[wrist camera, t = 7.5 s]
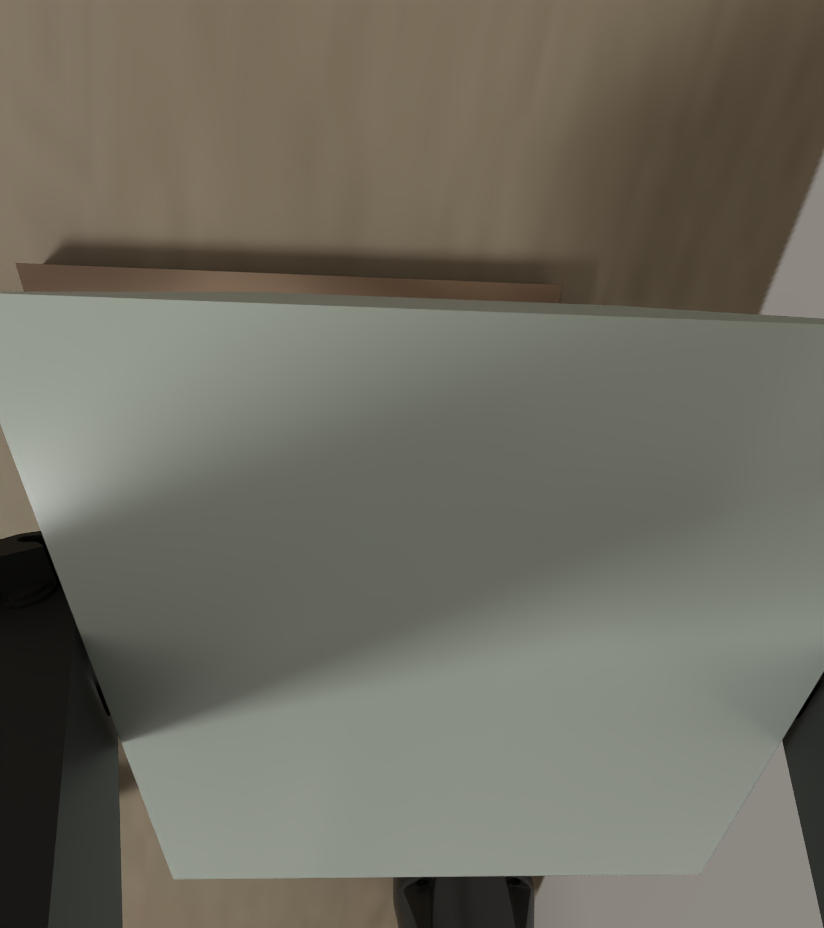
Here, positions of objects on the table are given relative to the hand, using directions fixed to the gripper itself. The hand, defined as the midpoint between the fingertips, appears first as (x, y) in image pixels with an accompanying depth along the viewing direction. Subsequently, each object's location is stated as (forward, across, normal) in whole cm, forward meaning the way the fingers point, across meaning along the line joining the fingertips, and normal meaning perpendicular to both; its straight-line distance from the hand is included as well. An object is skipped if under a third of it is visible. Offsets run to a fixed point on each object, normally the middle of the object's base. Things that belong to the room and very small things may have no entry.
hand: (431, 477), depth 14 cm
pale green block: (+1, 0, 0) cm, 1 cm away
